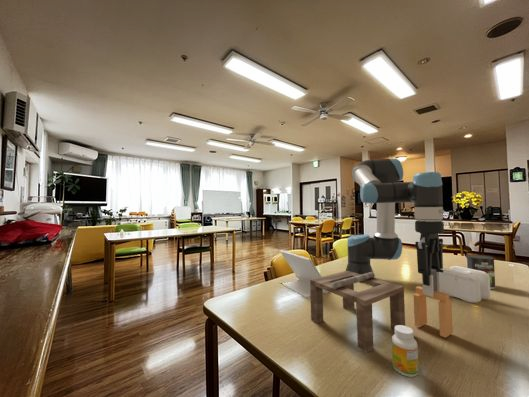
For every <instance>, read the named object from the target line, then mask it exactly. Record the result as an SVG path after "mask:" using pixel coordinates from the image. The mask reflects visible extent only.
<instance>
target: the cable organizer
mask: <svg viewBox="0 0 529 397" xmlns="http://www.w3.org/2000/svg"><path fill="white" fill-rule="evenodd" d="M441 270H443V273H442V272H439V273H440V292H442V293H446V294H449V297H451V298H453V297H455V298H457V299H461V300H462V301H463V302H467V303H472V304H473V303H479V302H481V300H487V299H489V298H491V297H492V296H491V289H490V277H489V275H488V274H487V273H486V272H483V271H479V270H474V269H469V268H466V267H464V266H459V265H452V266H450V268H447V267H443V269H441Z"/></svg>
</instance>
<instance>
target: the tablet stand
mask: <svg viewBox="0 0 529 397" xmlns="http://www.w3.org/2000/svg"><path fill="white" fill-rule="evenodd" d="M280 253H281V255H282V257H283V258H284V260H285V261H286V263H287V264H288V265H289V267H290V268H291V270H292V272H293V273H294V274H295V277H297V278H298V279H299V280H297V281H294V282H288V283H287V282H286V283H283V284H284V285H285V286H287V287H289V288H290V289H289V288H288V289H289V290H291V289H292V290H291V291H293V290H294V291H293V292H295V293H296V292H297V294H298V295H300V296H302V297H304V298H305V297H306V299H308V298H311V296H310V280H311V279H315V278H319V277H322V275H321V273H320V272H319V271H318V269H317V268H316V266H315V264H314V263H313V260H312V259H311V258H309V257H305V256H302V255H299V254H295V253H292V252H289V251H286V250H280ZM284 285H283V286H284ZM285 286H284V287H285ZM287 287H286V288H287ZM328 293H330V292H329V291H326V290H324V289H323V295H325V294H328Z"/></svg>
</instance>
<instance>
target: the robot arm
mask: <svg viewBox="0 0 529 397" xmlns="http://www.w3.org/2000/svg"><path fill="white" fill-rule="evenodd" d="M350 176H351V178H352V180H353V182H355V183H357V184H358V185H359V187H360V188H359V189H360V190H359V193H360V194H359V195H360V196H359V197H360V200H361V202H362V203H364V204H376V231H375V232H374V233H373V237H371V236H370V235H369V234H356V235H350V236H349V237H348V238H347V243H346V246H347V264H346V268H345V271H350V272H354V273H357V274H361V275H362V274H366V273H369V272H373V273H374V270H373V267H372V264H371V260H385V261H386V260H388V261H391V260H398V259H400V257H401V255H402V252H403V242H402V239H401V238H400V237H399V235H398V234H397V233H396V230H395V228H396V227H395V226H396V224H395V223H396V220H395V219H396V204H397V203H399V204H400V203H409V204H410V203H414V205H413V206H414V208H413V209H414V212H413V213H414V219H415V221H414V231H415V233H419V234H420V237H419V241H415V242H414V243H415V248H416V260H417V261H416V263H417V272H418V274H421V277H422V278H421V280H422V287H423V294H424V295H428V296H431V297H433V296H434V290H433V275H431V269H435V270H436V273H437V290H436V291H438V292H441V291H440V273H439V272H442V273H443V270H441V269H443V268H444V261H443V260H444V259H443V258H444V257H443V256H444V255H443V243H444V240H443V238H440V236H439V234H444V232H445V228H444V222H443V221H442V220H443V219H444V214H445V213H446V211H445V210H444V207H443V205H444V204H443V203H444V202H443V184H444V183H443V180H442V174H441V173H440V172H437V171H428V172H427V171H425V172H418V173H415V174H414V175H413V176H412V181H403V179H404V168H403V164H402V163H401V161H400V159H398V158H383V159H381V158H378V159H367V160H362V161H360V162H358V163H357V164H355V166H353V167H352V170H351V175H350ZM401 181H403V182H401Z"/></svg>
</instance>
